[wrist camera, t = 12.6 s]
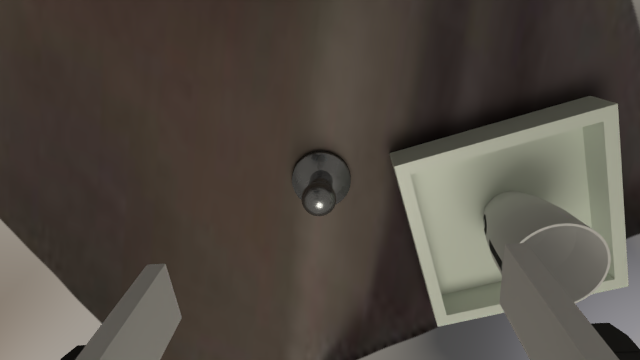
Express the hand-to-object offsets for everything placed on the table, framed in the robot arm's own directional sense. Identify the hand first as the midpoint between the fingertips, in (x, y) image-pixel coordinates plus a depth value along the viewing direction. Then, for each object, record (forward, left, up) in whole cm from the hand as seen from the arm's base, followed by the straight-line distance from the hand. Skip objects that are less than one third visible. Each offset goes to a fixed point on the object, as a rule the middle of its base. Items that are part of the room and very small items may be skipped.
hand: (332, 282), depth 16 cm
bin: (+14, +14, -26) cm, 32 cm away
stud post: (+5, -3, -26) cm, 26 cm away
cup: (+14, +14, -25) cm, 32 cm away
